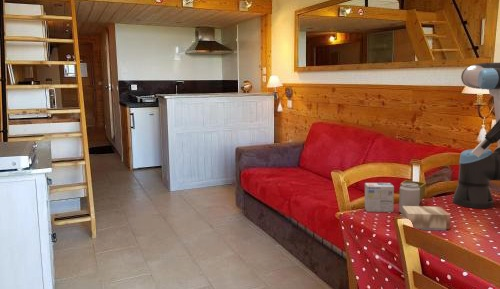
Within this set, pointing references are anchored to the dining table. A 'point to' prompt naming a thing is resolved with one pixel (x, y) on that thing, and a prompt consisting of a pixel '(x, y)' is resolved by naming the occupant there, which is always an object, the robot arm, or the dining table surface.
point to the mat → (433, 229)
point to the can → (409, 195)
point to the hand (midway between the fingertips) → (474, 154)
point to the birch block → (427, 216)
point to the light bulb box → (379, 197)
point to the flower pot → (421, 185)
